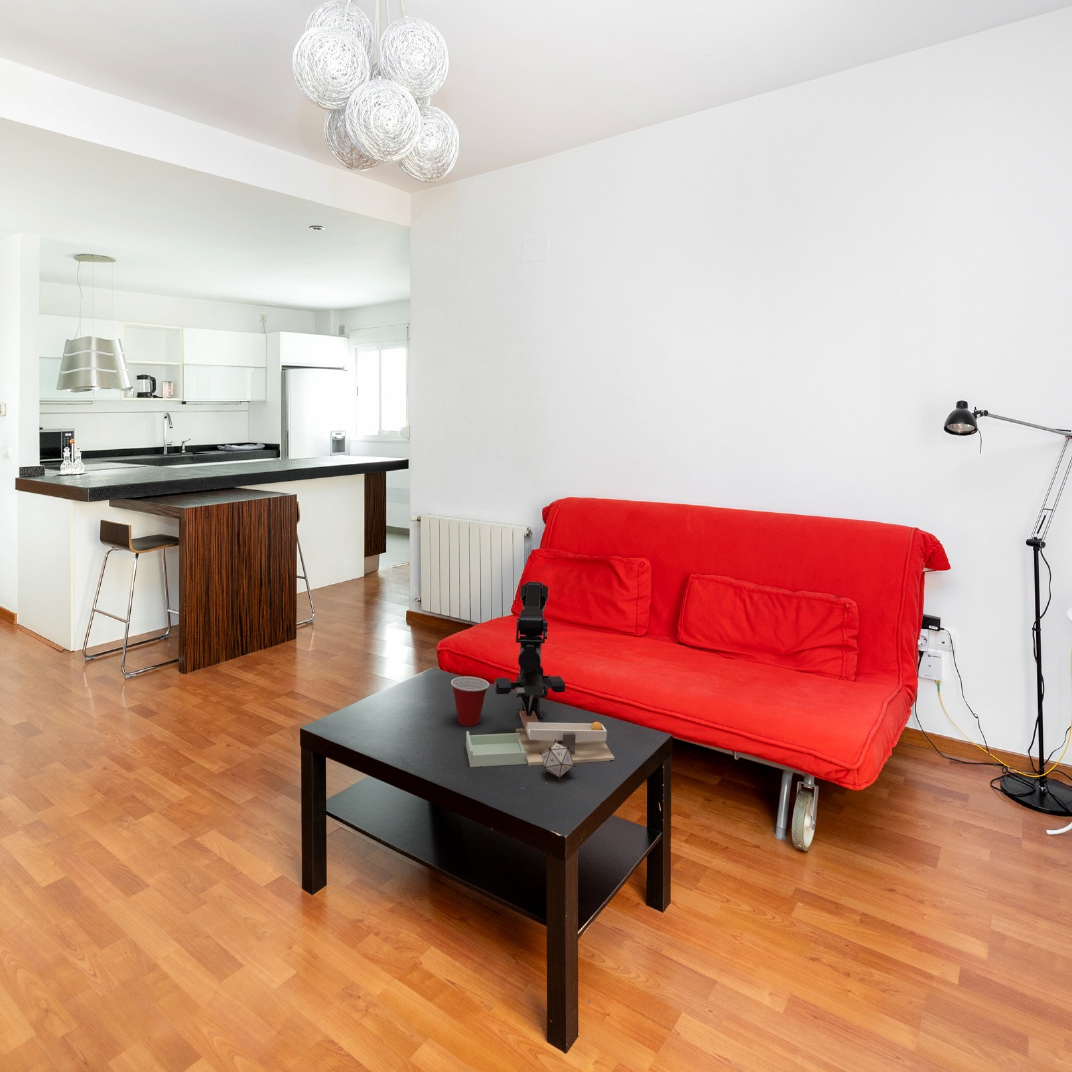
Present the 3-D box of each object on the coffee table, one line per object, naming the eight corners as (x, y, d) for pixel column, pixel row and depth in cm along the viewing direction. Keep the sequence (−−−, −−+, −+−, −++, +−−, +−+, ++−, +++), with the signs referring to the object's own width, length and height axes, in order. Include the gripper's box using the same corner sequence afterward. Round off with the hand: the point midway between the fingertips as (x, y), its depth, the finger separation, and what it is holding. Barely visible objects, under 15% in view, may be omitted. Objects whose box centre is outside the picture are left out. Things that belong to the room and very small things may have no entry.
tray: (466, 746, 189) (466, 731, 189) (519, 743, 192) (519, 728, 191) (470, 767, 178) (470, 750, 177) (526, 763, 180) (526, 747, 180)
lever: (519, 714, 200) (520, 705, 200) (589, 716, 204) (590, 707, 203) (529, 739, 183) (530, 729, 183) (606, 741, 187) (607, 731, 187)
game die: (553, 793, 173) (535, 769, 168) (546, 766, 181) (528, 742, 176) (586, 777, 172) (569, 752, 167) (578, 750, 180) (561, 726, 175)
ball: (589, 731, 190) (589, 720, 190) (600, 730, 191) (601, 719, 190) (592, 735, 187) (592, 724, 187) (603, 735, 188) (604, 724, 187)
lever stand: (515, 731, 200) (516, 710, 199) (593, 727, 204) (594, 707, 203) (528, 765, 179) (528, 742, 178) (614, 760, 183) (615, 737, 182)
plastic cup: (487, 730, 200) (487, 688, 198) (448, 729, 200) (448, 687, 199) (490, 715, 211) (491, 675, 209) (453, 714, 211) (453, 674, 209)
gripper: (499, 670, 186) (498, 728, 188) (570, 668, 189) (568, 725, 191) (494, 657, 196) (493, 712, 199) (561, 655, 200) (560, 710, 202)
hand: (528, 715), depth 197 cm, fingers closed, pressing on lever
